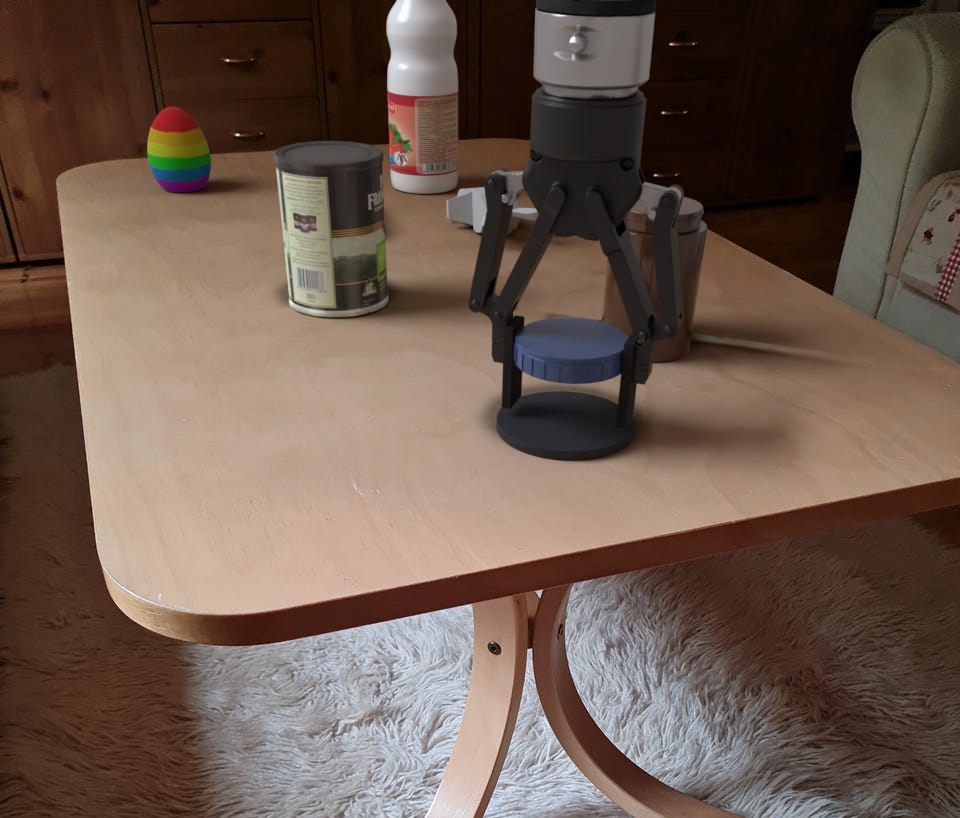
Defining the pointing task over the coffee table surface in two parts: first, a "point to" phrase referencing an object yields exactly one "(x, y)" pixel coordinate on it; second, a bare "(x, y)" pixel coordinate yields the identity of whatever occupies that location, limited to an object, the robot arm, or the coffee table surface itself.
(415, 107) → the fruit juice
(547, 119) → the robot arm
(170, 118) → the decorative egg
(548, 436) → the coaster
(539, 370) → the jar lid
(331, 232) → the coffee can
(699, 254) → the jar
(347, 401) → the coffee table surface
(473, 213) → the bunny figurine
